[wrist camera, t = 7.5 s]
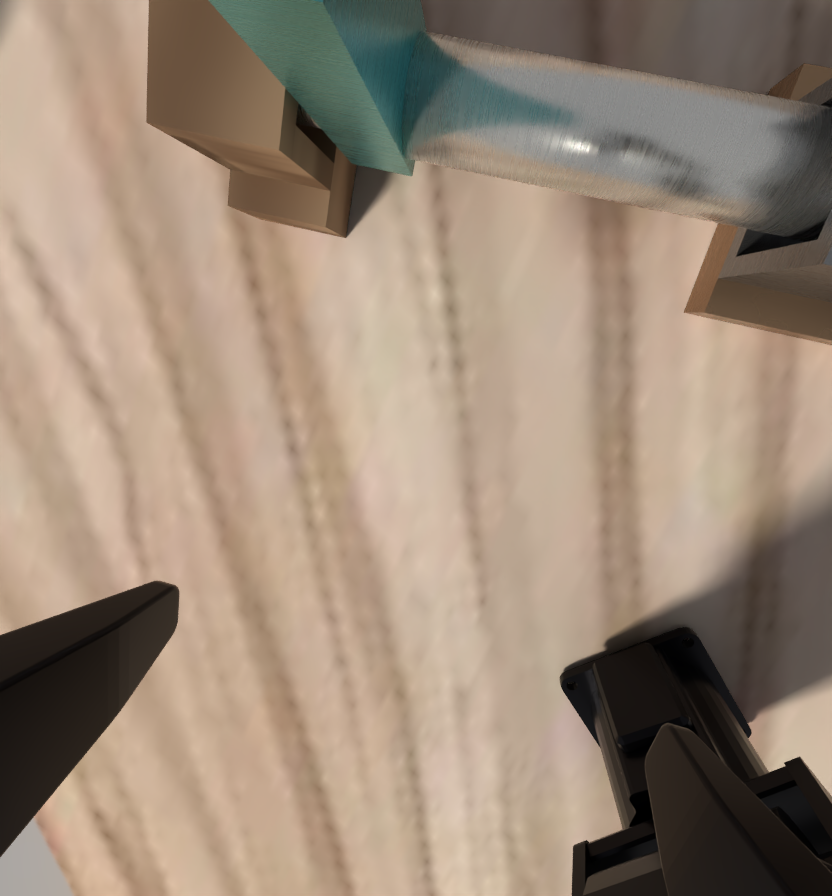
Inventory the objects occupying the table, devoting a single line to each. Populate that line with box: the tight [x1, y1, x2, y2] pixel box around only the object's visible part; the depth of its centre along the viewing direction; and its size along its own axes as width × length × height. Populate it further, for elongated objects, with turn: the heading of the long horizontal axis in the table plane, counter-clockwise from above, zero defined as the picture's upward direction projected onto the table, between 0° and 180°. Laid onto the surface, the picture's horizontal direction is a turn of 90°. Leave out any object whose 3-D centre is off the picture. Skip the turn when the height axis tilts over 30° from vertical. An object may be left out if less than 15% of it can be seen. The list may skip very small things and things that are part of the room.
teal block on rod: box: [208, 0, 832, 242], centre depth 10 cm, size 18×3×9 cm, turn 78°
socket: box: [147, 0, 357, 238], centre depth 13 cm, size 4×7×6 cm, turn 168°
